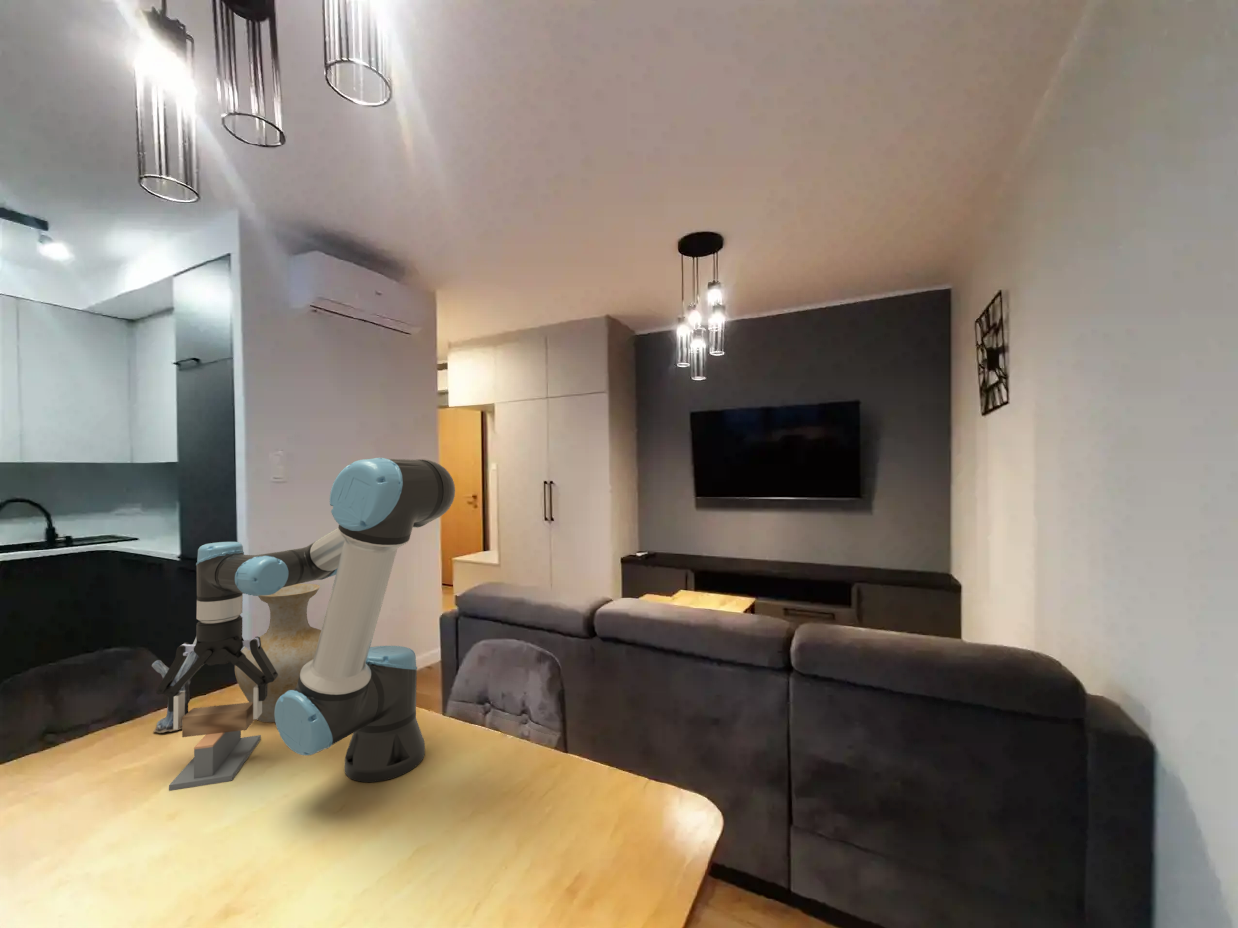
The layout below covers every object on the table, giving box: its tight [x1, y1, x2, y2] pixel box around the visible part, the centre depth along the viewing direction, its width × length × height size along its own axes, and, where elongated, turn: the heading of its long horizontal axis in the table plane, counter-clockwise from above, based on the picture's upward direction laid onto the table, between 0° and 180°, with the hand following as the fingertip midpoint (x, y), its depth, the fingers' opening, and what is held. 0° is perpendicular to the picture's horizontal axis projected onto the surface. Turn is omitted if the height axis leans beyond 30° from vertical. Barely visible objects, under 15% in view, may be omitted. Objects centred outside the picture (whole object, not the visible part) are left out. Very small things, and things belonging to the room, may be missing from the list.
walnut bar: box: [181, 701, 255, 738], centre depth 106 cm, size 11×4×4 cm, turn 106°
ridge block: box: [168, 730, 262, 791], centre depth 106 cm, size 10×16×7 cm, turn 18°
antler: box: [151, 637, 199, 734], centre depth 123 cm, size 12×8×25 cm
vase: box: [234, 583, 321, 723], centre depth 130 cm, size 22×22×30 cm
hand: (219, 721), depth 106 cm, fingers open, 13 cm apart
